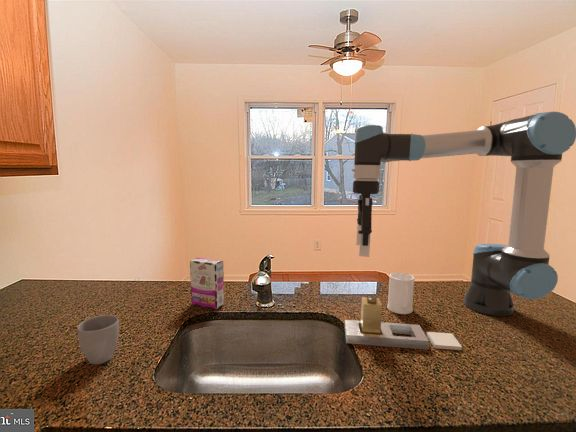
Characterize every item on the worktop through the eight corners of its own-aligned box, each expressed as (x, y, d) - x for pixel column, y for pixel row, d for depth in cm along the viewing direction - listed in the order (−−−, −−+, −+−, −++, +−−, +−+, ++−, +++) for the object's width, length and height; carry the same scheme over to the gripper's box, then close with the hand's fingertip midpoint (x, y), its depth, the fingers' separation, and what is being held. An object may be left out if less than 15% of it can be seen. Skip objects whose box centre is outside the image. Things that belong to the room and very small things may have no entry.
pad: (451, 336, 90) (452, 333, 90) (461, 350, 83) (462, 346, 83) (426, 334, 91) (427, 331, 91) (434, 348, 84) (435, 344, 84)
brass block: (377, 333, 92) (379, 295, 90) (379, 342, 87) (382, 302, 85) (360, 331, 93) (361, 294, 91) (361, 340, 88) (363, 301, 86)
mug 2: (417, 319, 100) (420, 284, 99) (390, 317, 102) (393, 283, 100) (409, 304, 112) (411, 273, 110) (385, 302, 113) (387, 271, 112)
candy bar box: (225, 304, 111) (224, 260, 108) (216, 310, 106) (215, 264, 104) (199, 299, 115) (198, 256, 112) (190, 304, 110) (189, 260, 108)
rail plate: (418, 332, 92) (419, 324, 92) (428, 349, 83) (429, 341, 83) (344, 327, 95) (344, 319, 95) (346, 343, 86) (346, 334, 86)
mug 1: (112, 367, 75) (109, 330, 73) (73, 370, 73) (69, 332, 72) (130, 340, 86) (128, 308, 85) (96, 342, 85) (93, 310, 84)
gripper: (351, 178, 103) (348, 240, 106) (355, 180, 79) (351, 260, 82) (374, 179, 102) (370, 241, 105) (385, 181, 77) (380, 262, 81)
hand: (362, 250), depth 93 cm, fingers open, 13 cm apart
